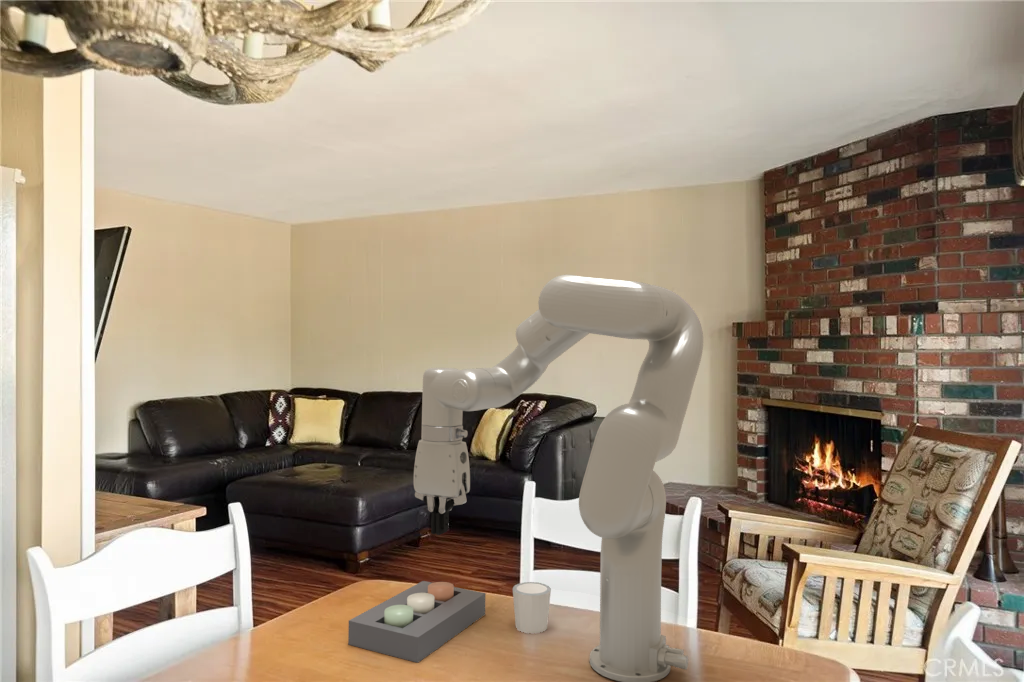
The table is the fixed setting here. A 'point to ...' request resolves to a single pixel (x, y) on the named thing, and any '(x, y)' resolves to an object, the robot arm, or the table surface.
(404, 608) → the sage button
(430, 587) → the terracotta button
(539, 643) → the table surface
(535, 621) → the light grey cup
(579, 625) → the table surface
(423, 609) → the cream button
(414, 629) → the console
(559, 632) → the table surface
